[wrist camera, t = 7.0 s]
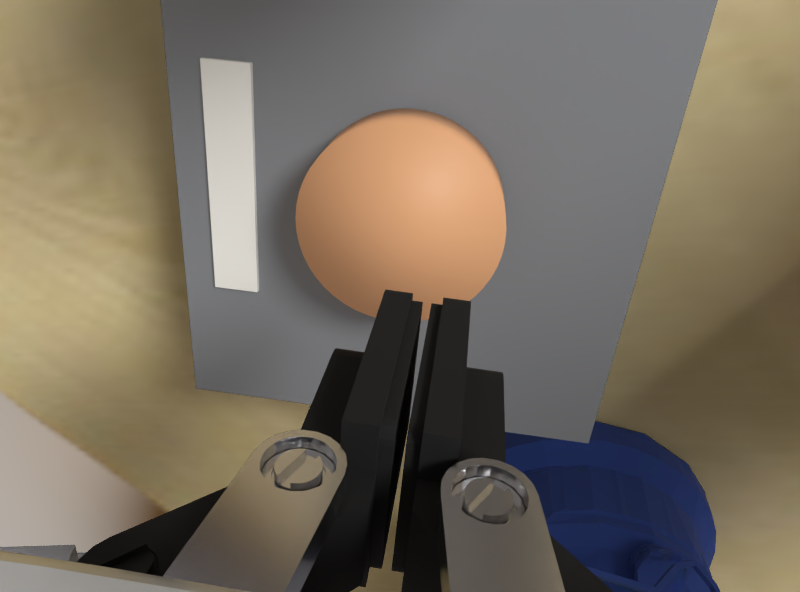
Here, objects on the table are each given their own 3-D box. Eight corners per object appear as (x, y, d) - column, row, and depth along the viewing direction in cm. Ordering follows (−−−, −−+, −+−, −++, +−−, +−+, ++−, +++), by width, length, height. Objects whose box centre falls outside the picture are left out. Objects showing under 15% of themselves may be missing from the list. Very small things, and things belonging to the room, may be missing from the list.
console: (226, -115, 22) (144, -141, 17) (679, -76, 21) (746, -90, 16) (244, 316, 31) (193, 391, 26) (569, 359, 30) (589, 446, 25)
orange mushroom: (349, 69, 25) (295, 111, 18) (511, 86, 24) (523, 135, 17) (343, 221, 28) (295, 308, 21) (487, 238, 27) (489, 333, 20)
